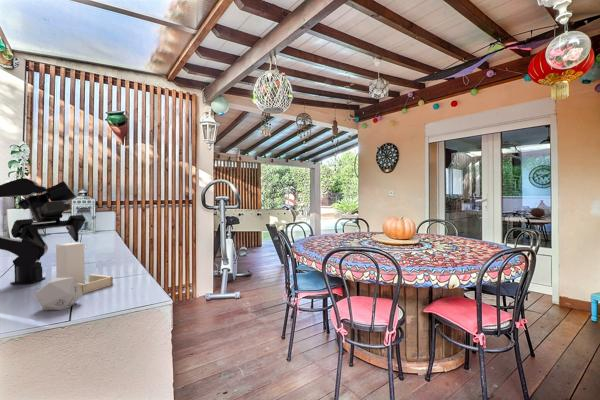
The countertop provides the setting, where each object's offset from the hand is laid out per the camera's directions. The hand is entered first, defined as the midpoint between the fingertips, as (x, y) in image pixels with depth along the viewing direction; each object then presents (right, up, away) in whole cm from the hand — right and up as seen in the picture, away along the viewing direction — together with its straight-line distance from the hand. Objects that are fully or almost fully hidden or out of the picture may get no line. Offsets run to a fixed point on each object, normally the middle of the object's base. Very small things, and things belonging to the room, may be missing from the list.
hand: (61, 243), depth 94 cm
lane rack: (+10, -13, -5) cm, 17 cm away
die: (+18, -14, -22) cm, 31 cm away
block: (+6, -13, -4) cm, 14 cm away
